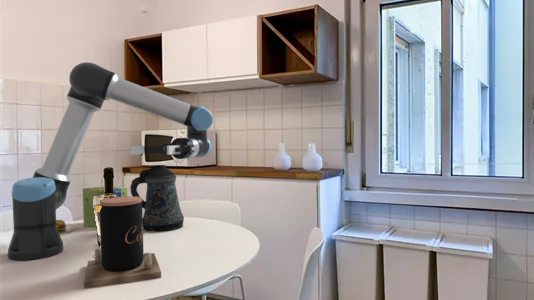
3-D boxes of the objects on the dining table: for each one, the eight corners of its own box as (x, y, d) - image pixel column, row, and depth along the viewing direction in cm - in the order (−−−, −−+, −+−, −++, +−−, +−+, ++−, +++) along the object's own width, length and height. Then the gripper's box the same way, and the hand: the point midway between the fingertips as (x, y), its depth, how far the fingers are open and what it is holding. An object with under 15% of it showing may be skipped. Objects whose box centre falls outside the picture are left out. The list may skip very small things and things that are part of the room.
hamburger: (68, 237, 149) (68, 222, 148) (34, 238, 147) (34, 224, 147) (80, 229, 161) (79, 216, 160) (49, 231, 159) (48, 217, 159)
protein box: (108, 229, 158) (106, 190, 157) (83, 225, 165) (81, 188, 165) (128, 224, 167) (127, 187, 167) (104, 220, 175) (103, 185, 174)
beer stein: (190, 228, 157) (189, 165, 156) (141, 235, 146) (139, 168, 146) (175, 221, 171) (173, 163, 170) (129, 227, 160) (127, 165, 159)
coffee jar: (130, 273, 100) (128, 202, 100) (93, 271, 102) (90, 202, 102) (151, 260, 111) (149, 196, 110) (116, 259, 113) (114, 196, 112)
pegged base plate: (84, 288, 95) (83, 265, 95) (88, 266, 112) (87, 246, 112) (161, 277, 102) (160, 256, 101) (154, 258, 118) (153, 239, 118)
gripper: (215, 158, 140) (184, 162, 119) (155, 158, 148) (116, 162, 127) (215, 137, 139) (184, 137, 119) (154, 138, 147) (115, 138, 127)
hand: (149, 150), depth 123 cm, fingers open, 13 cm apart
